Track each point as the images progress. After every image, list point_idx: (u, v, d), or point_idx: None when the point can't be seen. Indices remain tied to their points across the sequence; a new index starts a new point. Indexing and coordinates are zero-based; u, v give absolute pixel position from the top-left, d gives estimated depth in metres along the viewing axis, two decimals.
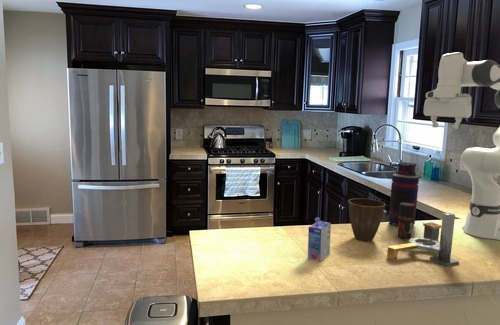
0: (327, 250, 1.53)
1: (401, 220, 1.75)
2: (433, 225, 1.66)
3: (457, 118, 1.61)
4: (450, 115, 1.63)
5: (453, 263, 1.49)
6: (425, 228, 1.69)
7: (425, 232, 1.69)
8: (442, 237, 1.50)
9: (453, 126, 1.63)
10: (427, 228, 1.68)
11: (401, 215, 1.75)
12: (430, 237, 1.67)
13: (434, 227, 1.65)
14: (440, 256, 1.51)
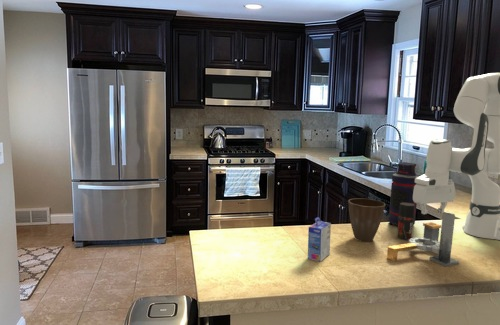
0: (327, 250, 1.53)
1: (401, 220, 1.75)
2: (433, 225, 1.66)
3: (446, 202, 1.68)
4: (443, 201, 1.66)
5: (453, 263, 1.49)
6: (425, 228, 1.69)
7: (425, 232, 1.69)
8: (442, 237, 1.50)
9: (442, 210, 1.68)
10: (427, 228, 1.68)
11: (401, 215, 1.75)
12: (430, 237, 1.67)
13: (434, 227, 1.65)
14: (440, 256, 1.51)
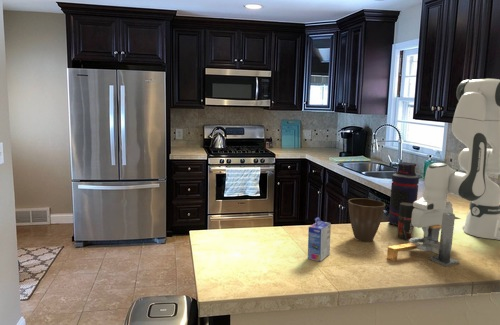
0: (327, 250, 1.53)
1: (401, 220, 1.75)
2: None
3: (441, 225, 1.69)
4: None
5: (453, 263, 1.49)
6: None
7: None
8: (442, 237, 1.50)
9: None
10: None
11: (401, 215, 1.75)
12: (430, 237, 1.67)
13: (434, 227, 1.65)
14: (440, 256, 1.51)
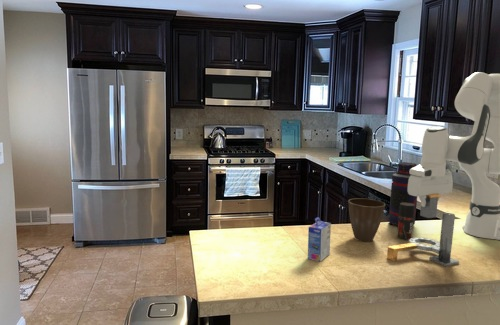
0: (327, 250, 1.53)
1: (401, 220, 1.75)
2: None
3: (440, 194, 1.57)
4: (440, 192, 1.56)
5: (453, 263, 1.49)
6: None
7: None
8: (442, 237, 1.50)
9: None
10: None
11: (401, 215, 1.75)
12: (428, 207, 1.55)
13: (432, 196, 1.54)
14: (440, 256, 1.51)
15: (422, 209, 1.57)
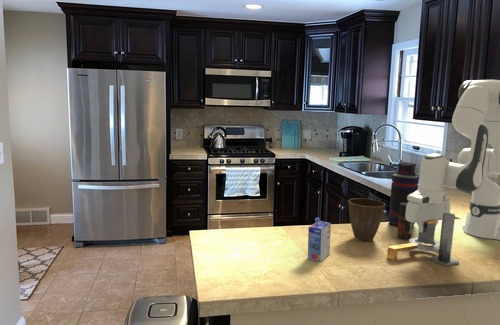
0: (327, 250, 1.53)
1: (401, 220, 1.75)
2: None
3: None
4: (438, 218, 1.57)
5: (453, 263, 1.49)
6: None
7: None
8: (442, 237, 1.50)
9: None
10: None
11: (401, 215, 1.75)
12: (426, 233, 1.56)
13: (430, 222, 1.55)
14: (440, 256, 1.51)
15: (420, 234, 1.59)
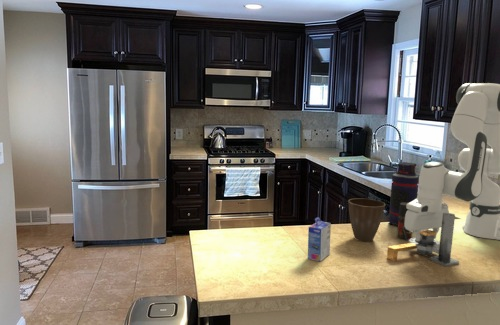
0: (327, 250, 1.53)
1: (401, 220, 1.75)
2: (427, 232, 1.57)
3: (438, 228, 1.60)
4: (437, 226, 1.58)
5: (453, 263, 1.49)
6: None
7: None
8: (442, 237, 1.50)
9: (434, 236, 1.60)
10: (421, 235, 1.58)
11: (401, 215, 1.75)
12: None
13: (428, 234, 1.56)
14: (440, 256, 1.51)
15: None
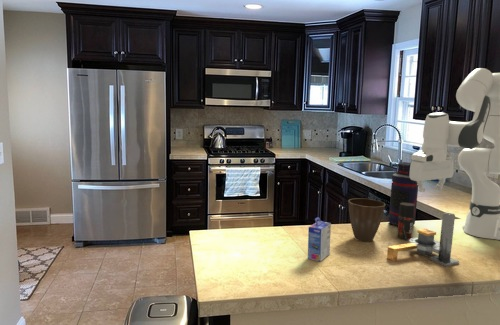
0: (327, 250, 1.53)
1: (401, 220, 1.75)
2: (427, 232, 1.57)
3: (444, 179, 1.61)
4: (442, 177, 1.59)
5: (453, 263, 1.49)
6: (419, 235, 1.59)
7: (419, 239, 1.59)
8: (442, 237, 1.50)
9: (441, 187, 1.61)
10: (421, 235, 1.58)
11: (401, 215, 1.75)
12: None
13: (428, 234, 1.56)
14: (440, 256, 1.51)
15: None
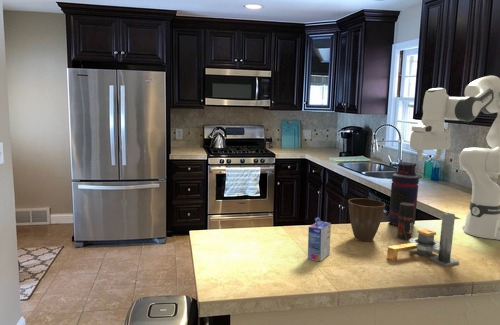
0: (327, 250, 1.53)
1: (401, 220, 1.75)
2: (427, 232, 1.57)
3: (442, 150, 1.74)
4: (439, 148, 1.72)
5: (453, 263, 1.49)
6: (419, 235, 1.59)
7: (419, 239, 1.59)
8: (442, 237, 1.50)
9: (439, 157, 1.74)
10: (421, 235, 1.58)
11: (401, 215, 1.75)
12: None
13: (428, 234, 1.56)
14: (440, 256, 1.51)
15: None
